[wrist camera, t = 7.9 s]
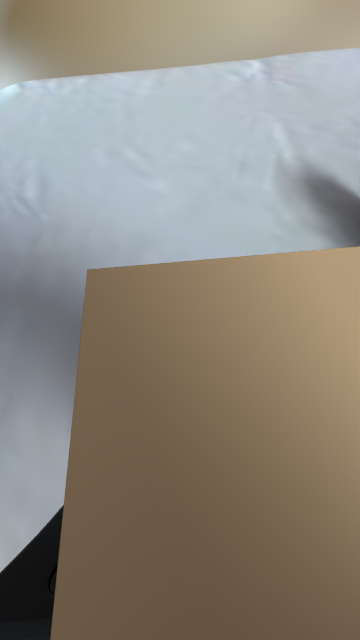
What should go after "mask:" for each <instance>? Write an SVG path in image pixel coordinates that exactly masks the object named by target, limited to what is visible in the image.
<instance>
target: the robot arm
mask: <svg viewBox="0 0 360 640" xmlns="http://www.w3.org/2000/svg"><path fill="white" fill-rule="evenodd" d="M63 509H64V505H63V506H62V507H61V508H60V510H59V511H58V512H57V513H56V514H55V515H54V517H53V518H52V519H51V520H50V521H49V522H48V523H47V524H46V526H45V527H44V528H43V529H42V530H41V531H40V532H39V533H38V535H37V536H36V537H35V538H34V539H33V540H32V541H31V542H30V543H29V544H28V545H27V546H26V547H25V548H24V549H23V550H22V551H21V552H20V553H19V554H18V555H17V556H16V557H15V558H14V559H13V560H12V561H11V562H10V563H9V564H8V565H7V566H6V567H5V568H4V569H3V570H2V571H1V572H0V640H50V638H51V628H52V618H53V608H54V598H55V589H56V579H57V569H58V559H59V549H60V539H61V529H62V519H63Z"/></svg>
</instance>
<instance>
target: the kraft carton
mask: <svg viewBox="0 0 360 640" xmlns="http://www.w3.org/2000/svg"><path fill="white" fill-rule="evenodd" d="M50 640H360V246H359V247H347V248H335V249H324V250H312V251H300V252H289V253H277V254H265V255H254V256H242V257H230V258H219V259H207V260H195V261H184V262H172V263H160V264H149V265H137V266H125V267H114V268H102V269H90V270H87V280H86V290H85V300H84V310H83V320H82V330H81V340H80V350H79V360H78V370H77V380H76V390H75V399H74V409H73V419H72V429H71V439H70V449H69V459H68V469H67V479H66V489H65V499H64V509H63V519H62V529H61V539H60V549H59V559H58V569H57V579H56V589H55V598H54V608H53V618H52V628H51V638H50Z"/></svg>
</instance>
